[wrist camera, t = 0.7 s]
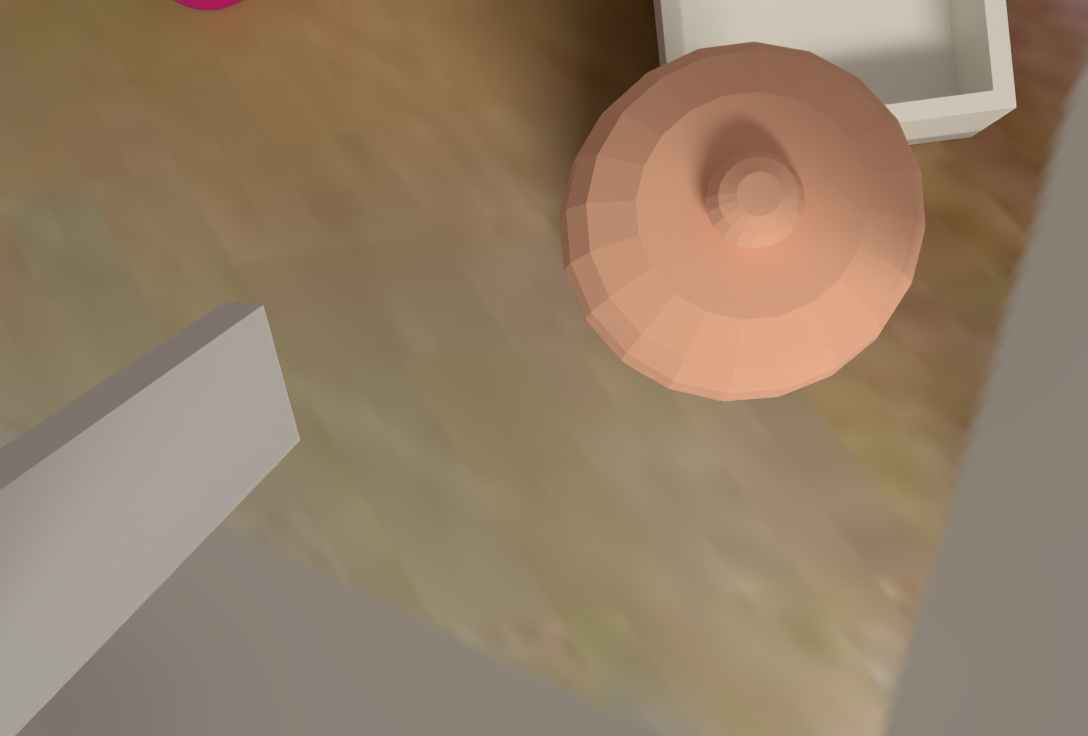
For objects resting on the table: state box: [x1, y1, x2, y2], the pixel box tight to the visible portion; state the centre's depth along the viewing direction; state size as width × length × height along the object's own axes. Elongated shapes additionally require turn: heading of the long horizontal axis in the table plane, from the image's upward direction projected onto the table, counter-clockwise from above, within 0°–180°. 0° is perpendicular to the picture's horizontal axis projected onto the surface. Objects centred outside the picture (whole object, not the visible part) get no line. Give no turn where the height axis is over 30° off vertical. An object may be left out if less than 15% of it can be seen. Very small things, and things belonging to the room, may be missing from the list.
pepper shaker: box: [560, 41, 925, 401], centre depth 22 cm, size 7×7×19 cm
